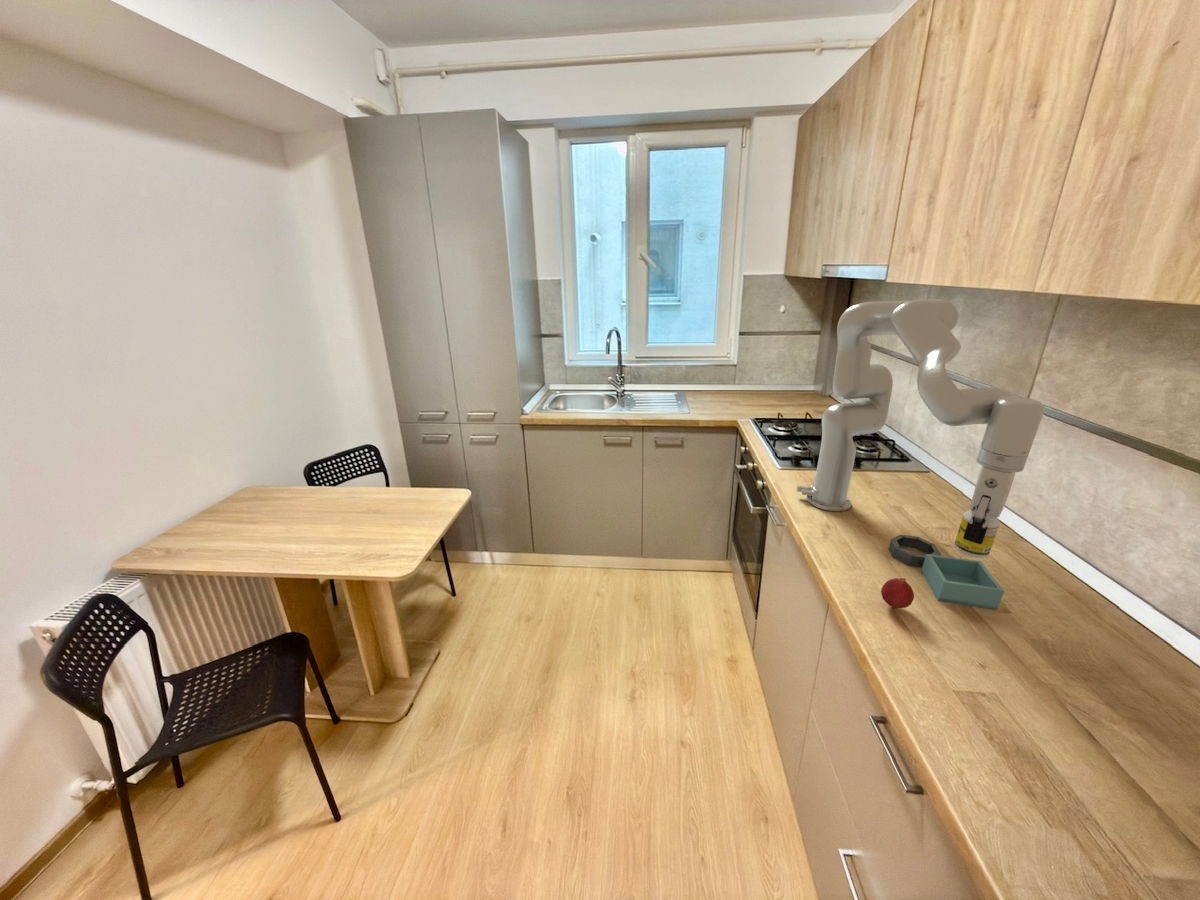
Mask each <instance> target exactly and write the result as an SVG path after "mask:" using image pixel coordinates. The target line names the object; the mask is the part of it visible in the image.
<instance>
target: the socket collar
mask: <svg viewBox="0 0 1200 900" xmlns="http://www.w3.org/2000/svg"><path fill="white" fill-rule="evenodd" d="M905 548H906V549H905ZM907 549H914V550H917V551H918V552H921V553H923V554H921V553H919V554H918V553H913V552H911V551H909V550H907ZM887 550H888V551H889V553H890V555H891V558H893V559H895V560H897V561H898V562H900V563H902V564H904V565H906V566H908V567H912V568H920V569H922V567H923V563H924V560H925V557H926V554H932V555H939V556H942V552H941V551H940V550H939V548H938V547H937V545H936V544H935V543H933V542H931V541H929V540H926V539H924V538H922V537H919V536H915V535H909V534H902V533H901V534H898V535H896V536H894V537H891V538H890V541H889V545H888V549H887Z"/></svg>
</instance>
